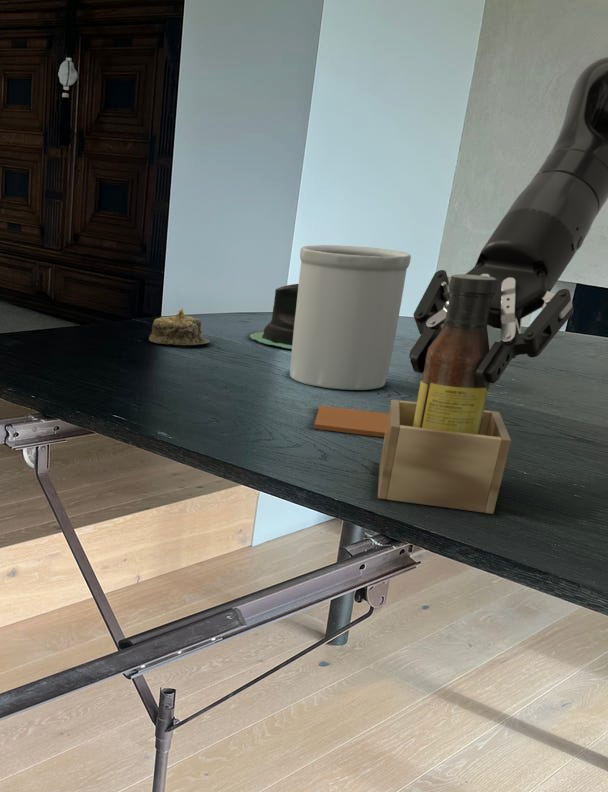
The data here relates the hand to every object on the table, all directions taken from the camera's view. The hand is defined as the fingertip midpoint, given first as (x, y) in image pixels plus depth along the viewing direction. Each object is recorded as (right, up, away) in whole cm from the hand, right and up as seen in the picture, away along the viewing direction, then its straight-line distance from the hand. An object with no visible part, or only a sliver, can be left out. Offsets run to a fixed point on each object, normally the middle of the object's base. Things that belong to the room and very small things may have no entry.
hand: (447, 374), depth 92 cm
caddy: (+1, -10, +6) cm, 11 cm away
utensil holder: (0, +12, +50) cm, 52 cm away
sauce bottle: (+1, -10, +6) cm, 12 cm away
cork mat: (-2, +1, +28) cm, 28 cm away
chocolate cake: (+1, +26, +77) cm, 81 cm away
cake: (-21, +23, +69) cm, 76 cm away
